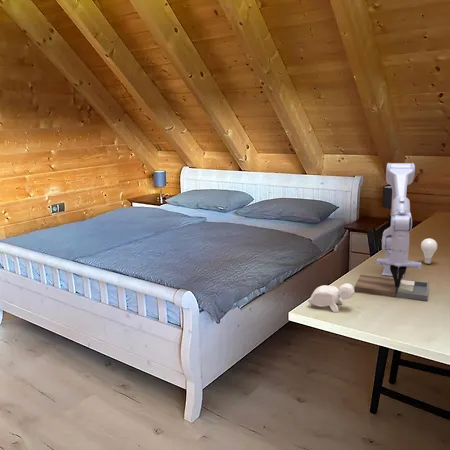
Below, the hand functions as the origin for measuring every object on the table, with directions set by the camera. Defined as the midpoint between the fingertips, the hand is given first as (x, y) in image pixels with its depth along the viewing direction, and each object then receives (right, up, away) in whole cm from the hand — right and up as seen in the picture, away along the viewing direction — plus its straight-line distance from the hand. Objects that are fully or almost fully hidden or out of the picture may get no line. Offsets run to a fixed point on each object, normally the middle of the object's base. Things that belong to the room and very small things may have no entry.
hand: (397, 286), depth 168 cm
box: (+6, -2, +1) cm, 7 cm away
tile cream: (+5, -1, +5) cm, 7 cm away
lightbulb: (+25, +5, +33) cm, 41 cm away
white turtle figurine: (-25, -6, -10) cm, 28 cm away
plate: (-5, -1, +6) cm, 8 cm away
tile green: (+2, -2, -1) cm, 3 cm away
